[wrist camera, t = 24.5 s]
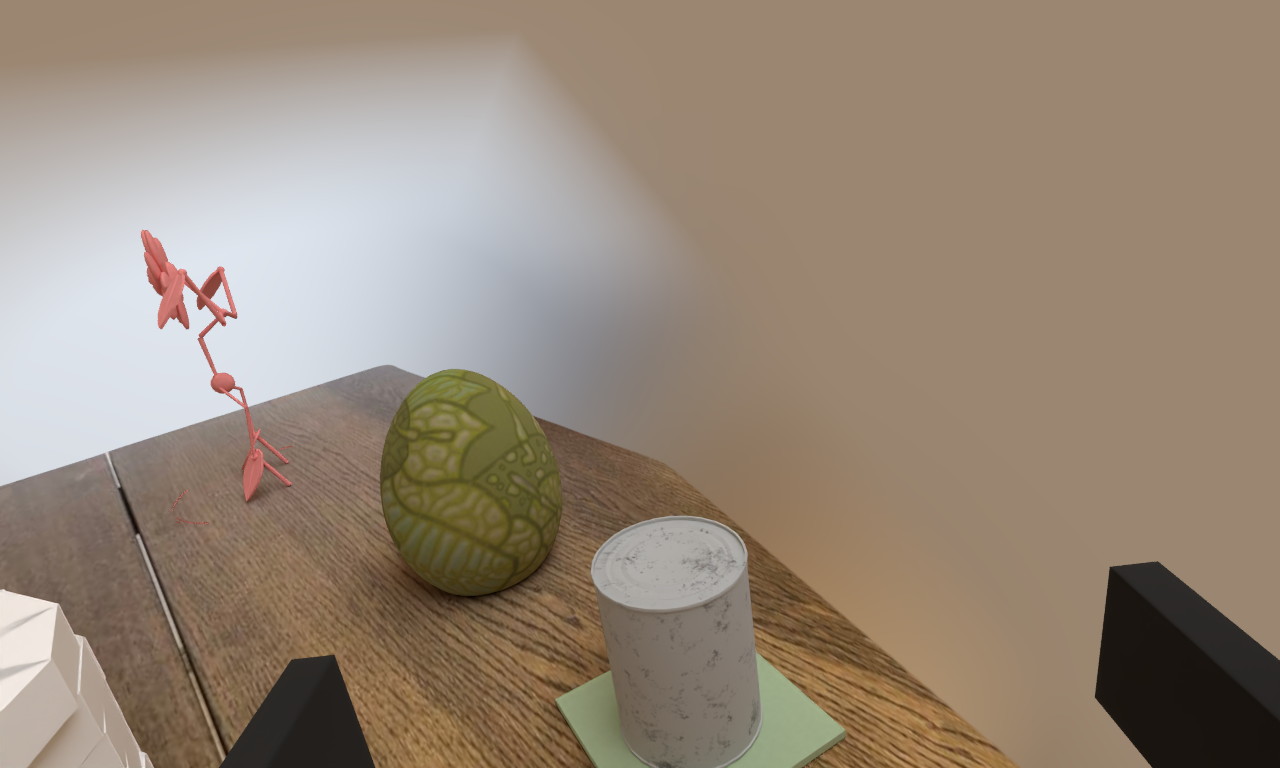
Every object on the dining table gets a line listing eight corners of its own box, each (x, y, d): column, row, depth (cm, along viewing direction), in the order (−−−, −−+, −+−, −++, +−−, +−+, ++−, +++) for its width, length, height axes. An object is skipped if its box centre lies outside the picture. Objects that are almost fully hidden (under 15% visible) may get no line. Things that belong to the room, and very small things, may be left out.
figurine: (292, 443, 106) (215, 217, 94) (300, 506, 84) (201, 222, 72) (180, 475, 100) (82, 237, 88) (157, 553, 78) (23, 250, 66)
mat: (715, 620, 54) (714, 614, 54) (846, 737, 42) (845, 729, 42) (556, 705, 48) (554, 698, 48) (657, 868, 36) (656, 860, 36)
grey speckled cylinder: (678, 807, 39) (650, 635, 35) (593, 709, 47) (562, 558, 42) (794, 717, 44) (781, 556, 40) (700, 641, 51) (681, 500, 47)
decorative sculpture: (370, 606, 62) (304, 407, 56) (468, 512, 77) (425, 345, 70) (523, 628, 57) (470, 409, 50) (599, 522, 71) (565, 341, 64)
